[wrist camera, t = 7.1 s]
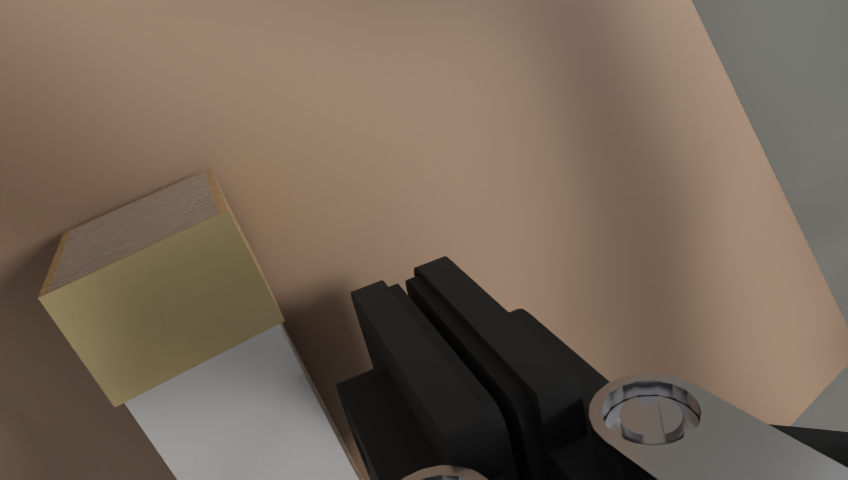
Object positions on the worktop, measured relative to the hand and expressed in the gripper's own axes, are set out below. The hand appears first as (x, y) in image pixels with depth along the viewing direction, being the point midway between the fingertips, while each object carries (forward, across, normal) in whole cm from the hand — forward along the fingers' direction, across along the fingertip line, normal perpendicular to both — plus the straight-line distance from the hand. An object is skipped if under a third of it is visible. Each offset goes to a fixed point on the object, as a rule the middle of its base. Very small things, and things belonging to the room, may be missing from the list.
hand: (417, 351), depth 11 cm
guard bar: (+1, +2, +4) cm, 5 cm away
